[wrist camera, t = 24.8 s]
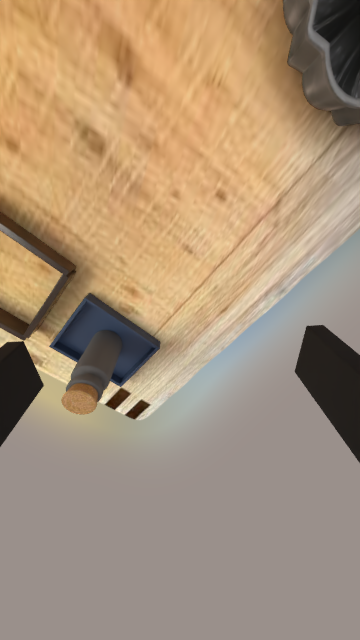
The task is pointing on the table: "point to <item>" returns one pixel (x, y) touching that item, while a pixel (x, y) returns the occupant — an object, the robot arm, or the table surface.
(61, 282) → the dark brown square frame
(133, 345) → the tray
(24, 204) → the table surface
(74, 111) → the table surface
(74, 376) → the bottle
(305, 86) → the bundt pan
